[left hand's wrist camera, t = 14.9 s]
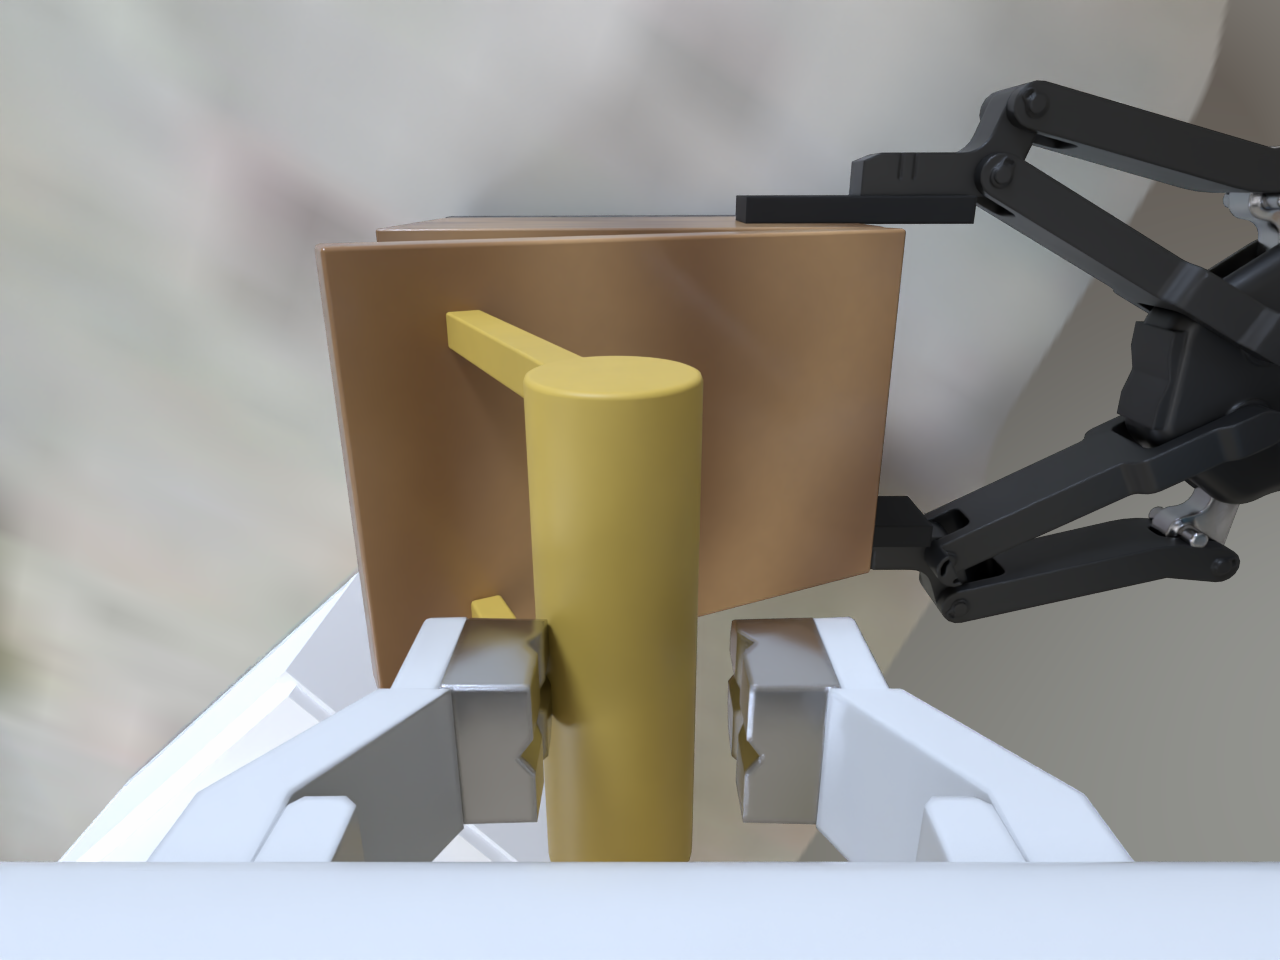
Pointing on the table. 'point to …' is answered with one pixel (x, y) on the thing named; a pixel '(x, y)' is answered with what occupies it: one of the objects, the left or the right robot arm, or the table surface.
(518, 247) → the lid
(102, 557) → the table surface
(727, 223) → the chest
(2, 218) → the table surface
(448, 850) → the butter dish
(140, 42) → the table surface
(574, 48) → the table surface
